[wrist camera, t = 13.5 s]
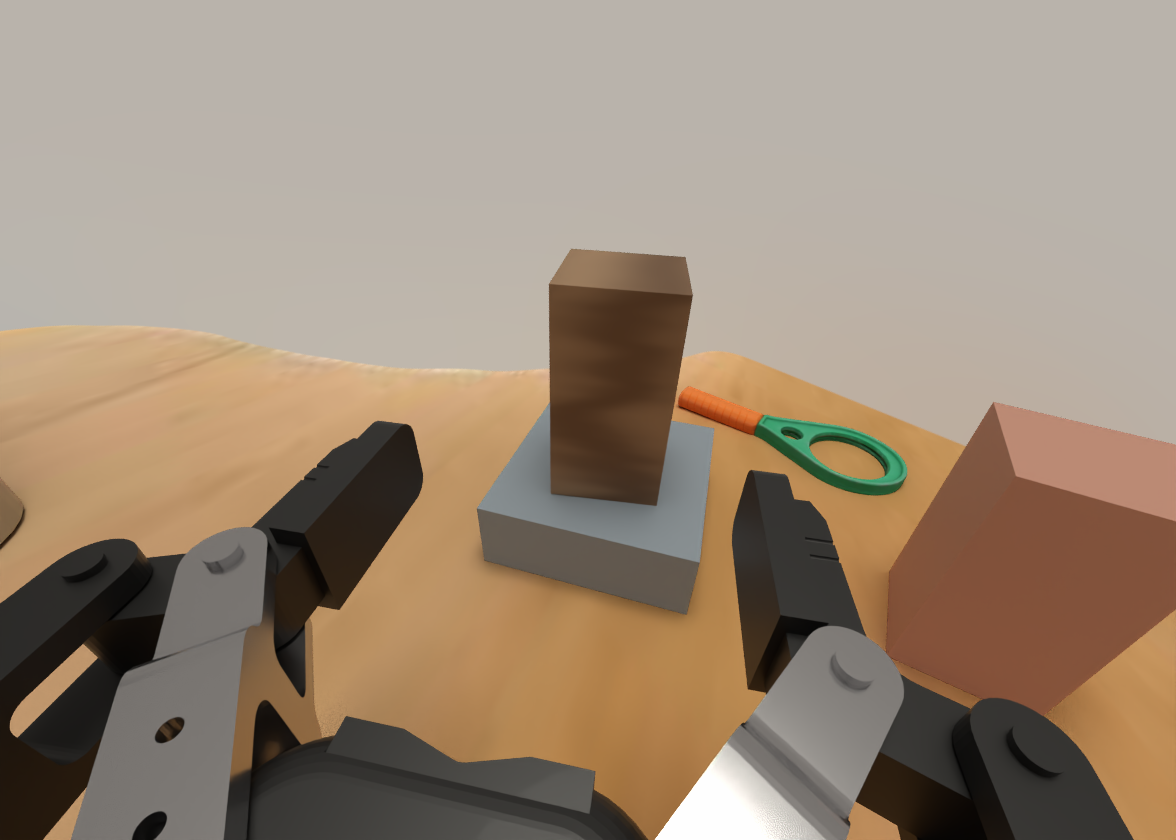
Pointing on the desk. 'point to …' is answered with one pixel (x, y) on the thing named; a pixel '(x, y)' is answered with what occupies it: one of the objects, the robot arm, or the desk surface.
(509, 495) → the slate base block
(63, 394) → the desk surface
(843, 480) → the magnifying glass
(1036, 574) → the brick-red block
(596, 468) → the walnut block
